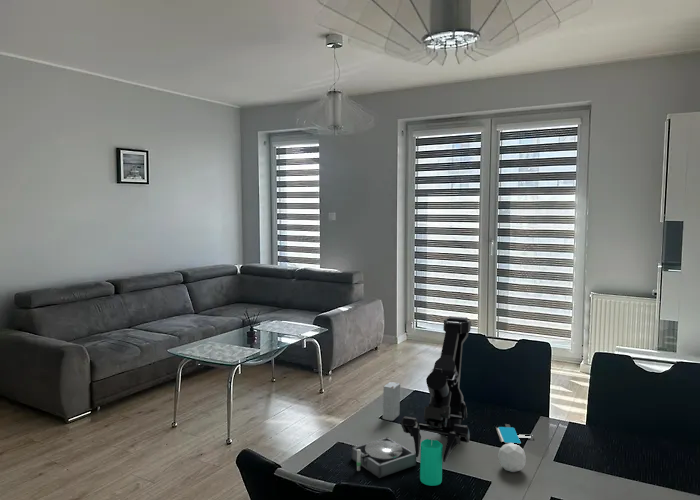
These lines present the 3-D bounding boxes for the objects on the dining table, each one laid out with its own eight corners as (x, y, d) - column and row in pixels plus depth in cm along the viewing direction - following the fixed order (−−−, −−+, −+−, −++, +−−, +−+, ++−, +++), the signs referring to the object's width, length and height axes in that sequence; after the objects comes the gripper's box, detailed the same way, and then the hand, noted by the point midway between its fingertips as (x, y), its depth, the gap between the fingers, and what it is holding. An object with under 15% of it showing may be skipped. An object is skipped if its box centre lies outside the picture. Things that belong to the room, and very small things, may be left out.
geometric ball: (516, 482, 153) (522, 469, 147) (490, 465, 156) (495, 452, 151) (527, 462, 157) (533, 448, 152) (502, 446, 161) (507, 432, 156)
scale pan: (386, 440, 166) (386, 437, 166) (410, 454, 157) (410, 451, 157) (350, 451, 158) (350, 448, 158) (373, 466, 149) (373, 463, 149)
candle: (441, 486, 145) (442, 444, 144) (419, 484, 146) (420, 441, 145) (442, 476, 151) (443, 434, 150) (420, 473, 152) (421, 432, 151)
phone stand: (540, 453, 166) (541, 448, 166) (501, 451, 167) (501, 446, 167) (526, 427, 186) (527, 422, 186) (491, 425, 187) (491, 420, 187)
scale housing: (387, 447, 168) (387, 429, 167) (416, 465, 157) (416, 445, 156) (343, 461, 159) (343, 441, 158) (371, 480, 147) (371, 459, 147)
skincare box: (388, 413, 196) (389, 380, 195) (400, 415, 194) (400, 382, 193) (381, 419, 190) (382, 385, 189) (393, 421, 188) (394, 388, 187)
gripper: (403, 388, 153) (391, 441, 144) (469, 397, 147) (462, 453, 137) (409, 406, 161) (399, 457, 152) (472, 415, 155) (465, 469, 145)
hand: (430, 459), depth 146 cm, fingers open, 7 cm apart
